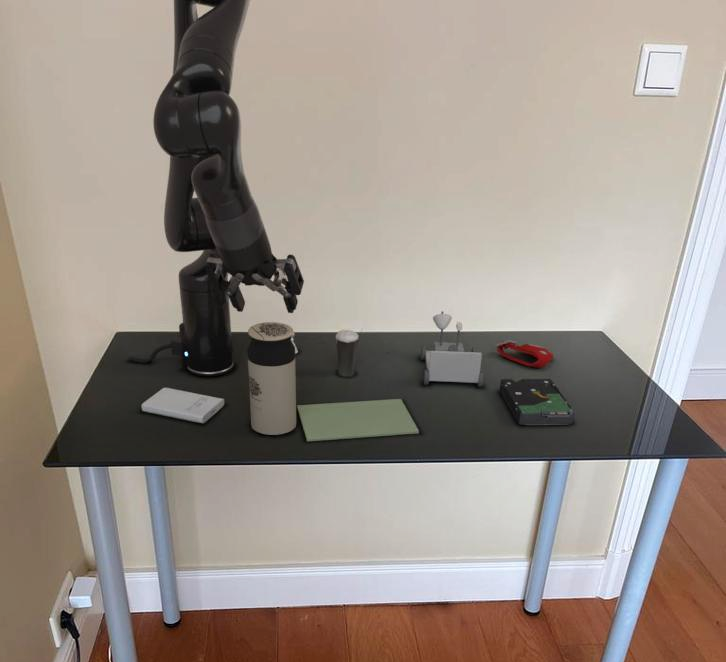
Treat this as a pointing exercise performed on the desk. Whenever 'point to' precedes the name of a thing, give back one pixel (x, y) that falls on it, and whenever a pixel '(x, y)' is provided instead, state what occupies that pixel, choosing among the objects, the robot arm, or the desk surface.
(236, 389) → the desk surface
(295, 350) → the chess pawn
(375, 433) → the mat
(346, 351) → the milkshake
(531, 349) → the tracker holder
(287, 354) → the travel mug
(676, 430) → the desk surface
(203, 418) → the hard drive
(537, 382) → the disk drive
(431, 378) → the toy car
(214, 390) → the desk surface
